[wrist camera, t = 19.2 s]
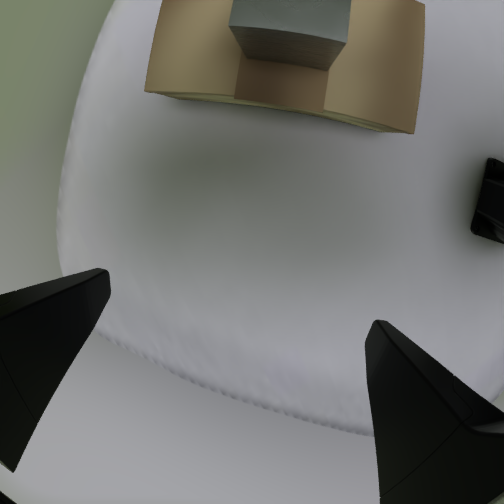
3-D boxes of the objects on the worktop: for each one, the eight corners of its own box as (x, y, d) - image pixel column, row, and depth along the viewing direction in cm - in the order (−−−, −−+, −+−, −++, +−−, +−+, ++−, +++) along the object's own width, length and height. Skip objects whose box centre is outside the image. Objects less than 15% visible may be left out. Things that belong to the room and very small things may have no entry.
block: (335, 6, 11) (354, -39, 6) (327, 71, 12) (347, 42, 8) (257, -5, 11) (246, -54, 6) (246, 58, 12) (227, 25, 8)
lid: (419, 6, 10) (425, 1, 9) (407, 137, 14) (414, 138, 13) (177, -30, 11) (172, -36, 10) (149, 96, 14) (142, 94, 14)
